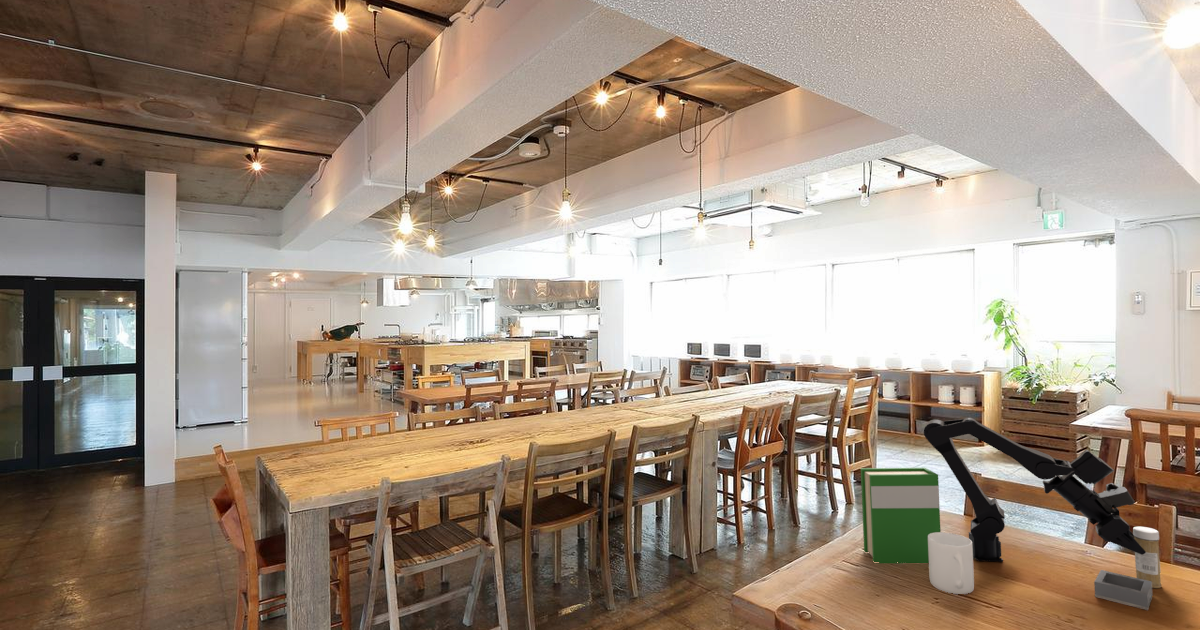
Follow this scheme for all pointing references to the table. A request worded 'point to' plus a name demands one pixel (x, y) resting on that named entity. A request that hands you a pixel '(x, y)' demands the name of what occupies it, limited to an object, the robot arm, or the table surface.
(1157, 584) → the sprinkles bottle
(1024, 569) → the table surface
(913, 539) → the hardback book
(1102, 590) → the holder
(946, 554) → the mug
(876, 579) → the table surface
